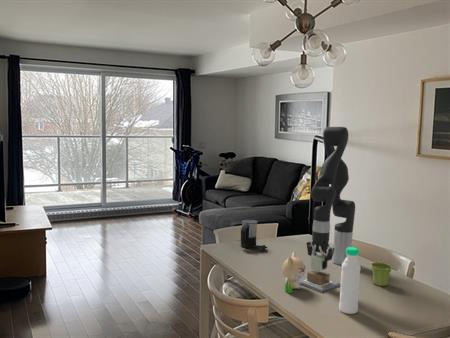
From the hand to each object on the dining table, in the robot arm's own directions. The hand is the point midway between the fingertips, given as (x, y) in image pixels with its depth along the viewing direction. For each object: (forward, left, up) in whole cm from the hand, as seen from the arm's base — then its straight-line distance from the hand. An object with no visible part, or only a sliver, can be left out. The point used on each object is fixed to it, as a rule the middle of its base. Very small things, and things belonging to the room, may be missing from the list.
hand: (318, 266), depth 202 cm
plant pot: (-24, +17, -8) cm, 31 cm away
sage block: (0, 0, -1) cm, 1 cm away
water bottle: (+14, +25, -8) cm, 30 cm away
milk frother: (-18, -58, -8) cm, 62 cm away
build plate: (0, 0, -8) cm, 8 cm away
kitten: (+13, -4, -8) cm, 16 cm away
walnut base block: (0, 0, -7) cm, 7 cm away
